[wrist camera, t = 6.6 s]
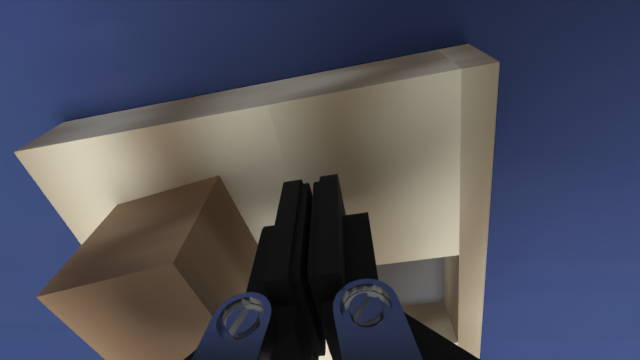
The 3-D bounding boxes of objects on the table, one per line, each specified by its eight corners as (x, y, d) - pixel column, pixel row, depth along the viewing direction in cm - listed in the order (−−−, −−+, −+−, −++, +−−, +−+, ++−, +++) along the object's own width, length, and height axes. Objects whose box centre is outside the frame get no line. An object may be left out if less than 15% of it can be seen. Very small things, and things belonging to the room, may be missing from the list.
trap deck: (468, 43, 12) (548, 90, 7) (460, 415, 24) (487, 511, 20) (63, 121, 13) (-60, 196, 9) (253, 429, 26) (238, 519, 22)
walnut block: (218, 175, 12) (172, 263, 8) (266, 259, 14) (245, 359, 10) (117, 204, 12) (35, 297, 9) (176, 281, 14) (127, 380, 11)
